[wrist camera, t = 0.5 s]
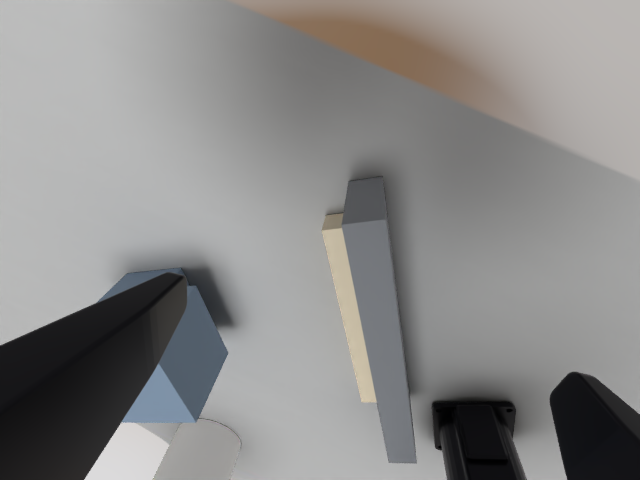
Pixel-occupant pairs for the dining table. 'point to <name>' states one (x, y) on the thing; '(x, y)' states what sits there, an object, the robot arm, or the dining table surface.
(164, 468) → the cylindrical container
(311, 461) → the dining table surface
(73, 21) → the dining table surface
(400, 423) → the wall board
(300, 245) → the dining table surface
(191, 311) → the blue block
